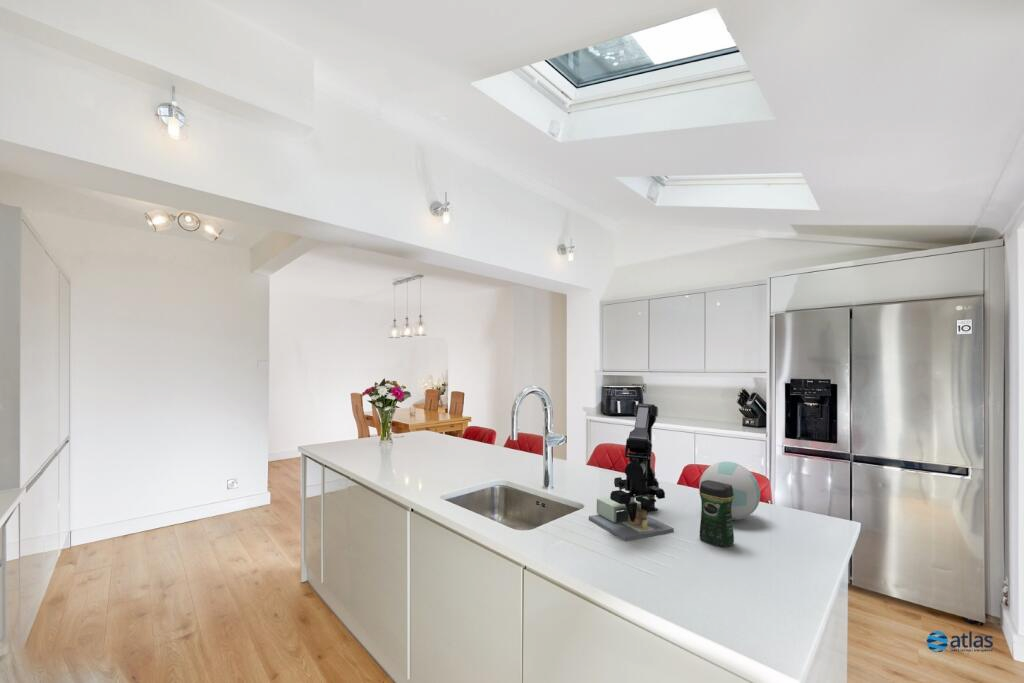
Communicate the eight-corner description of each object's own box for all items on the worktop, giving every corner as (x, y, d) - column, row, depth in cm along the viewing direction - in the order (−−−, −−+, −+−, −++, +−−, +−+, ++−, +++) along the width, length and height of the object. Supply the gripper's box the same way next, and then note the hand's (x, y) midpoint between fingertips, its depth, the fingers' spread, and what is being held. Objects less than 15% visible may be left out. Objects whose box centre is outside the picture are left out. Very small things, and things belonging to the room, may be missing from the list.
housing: (617, 505, 172) (617, 491, 172) (641, 517, 159) (642, 503, 159) (590, 509, 167) (590, 495, 167) (613, 522, 154) (613, 507, 154)
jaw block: (638, 519, 154) (638, 507, 155) (646, 523, 151) (646, 510, 151) (629, 520, 153) (629, 508, 153) (636, 524, 149) (637, 512, 149)
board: (634, 512, 169) (634, 501, 169) (673, 531, 150) (673, 519, 150) (588, 519, 160) (588, 507, 160) (624, 540, 142) (624, 527, 142)
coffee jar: (737, 543, 142) (737, 483, 143) (725, 549, 137) (726, 487, 137) (707, 533, 149) (708, 476, 150) (695, 539, 144) (695, 480, 145)
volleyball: (754, 533, 151) (754, 472, 152) (692, 519, 163) (692, 462, 164) (764, 516, 167) (764, 461, 167) (707, 505, 179) (707, 454, 180)
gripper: (643, 465, 163) (643, 509, 163) (600, 470, 156) (600, 516, 155) (666, 473, 153) (665, 520, 153) (621, 478, 146) (620, 527, 145)
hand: (637, 520), depth 152 cm, fingers closed on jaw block, 4 cm apart
